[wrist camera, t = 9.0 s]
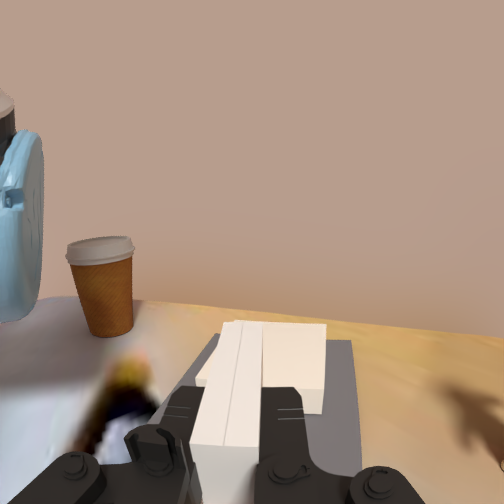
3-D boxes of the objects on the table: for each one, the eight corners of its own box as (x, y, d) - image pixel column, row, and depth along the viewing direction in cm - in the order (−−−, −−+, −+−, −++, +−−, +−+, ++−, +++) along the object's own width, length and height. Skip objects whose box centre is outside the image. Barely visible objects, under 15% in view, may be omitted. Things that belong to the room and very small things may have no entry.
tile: (195, 377, 24) (234, 320, 36) (198, 403, 25) (236, 341, 36) (323, 389, 22) (326, 324, 33) (321, 416, 22) (324, 346, 34)
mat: (133, 448, 19) (131, 443, 19) (215, 337, 38) (215, 333, 38) (360, 481, 16) (362, 476, 16) (350, 344, 35) (350, 340, 35)
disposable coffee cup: (158, 321, 43) (148, 236, 41) (110, 349, 35) (93, 250, 32) (112, 311, 47) (102, 234, 44) (66, 332, 38) (50, 246, 36)
